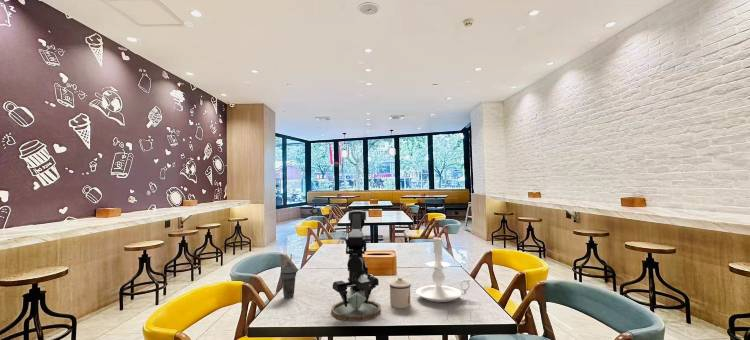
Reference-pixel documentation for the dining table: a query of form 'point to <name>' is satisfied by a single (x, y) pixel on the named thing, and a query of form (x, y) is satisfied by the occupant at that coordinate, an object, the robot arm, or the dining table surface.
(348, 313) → the round tray
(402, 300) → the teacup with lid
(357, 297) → the grey-green angular piece
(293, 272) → the beverage cup
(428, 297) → the candlestick
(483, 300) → the dining table surface
